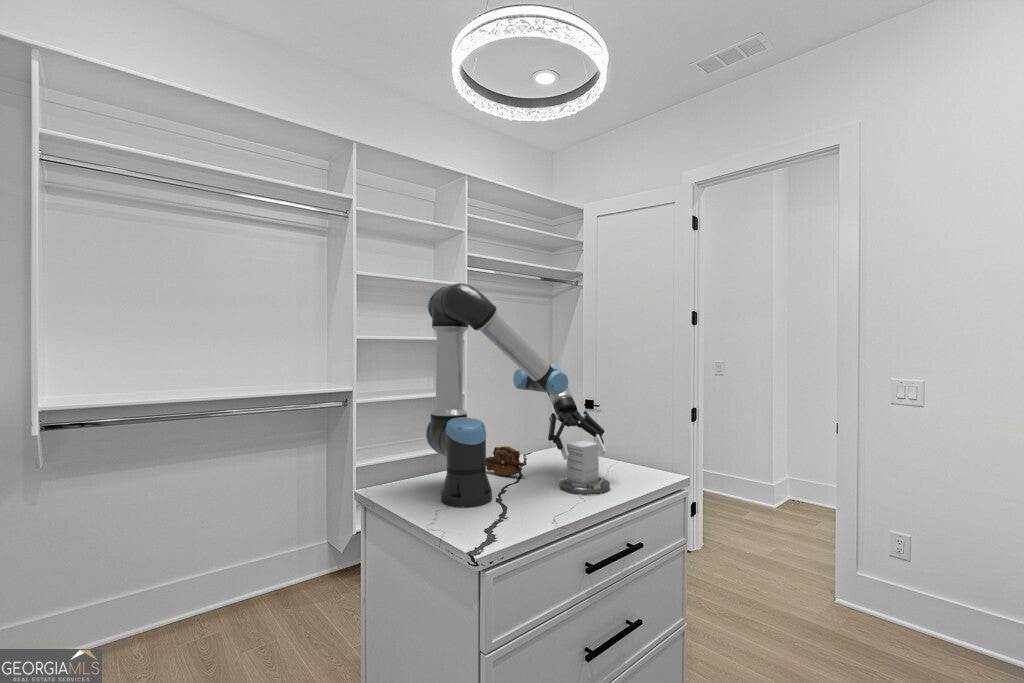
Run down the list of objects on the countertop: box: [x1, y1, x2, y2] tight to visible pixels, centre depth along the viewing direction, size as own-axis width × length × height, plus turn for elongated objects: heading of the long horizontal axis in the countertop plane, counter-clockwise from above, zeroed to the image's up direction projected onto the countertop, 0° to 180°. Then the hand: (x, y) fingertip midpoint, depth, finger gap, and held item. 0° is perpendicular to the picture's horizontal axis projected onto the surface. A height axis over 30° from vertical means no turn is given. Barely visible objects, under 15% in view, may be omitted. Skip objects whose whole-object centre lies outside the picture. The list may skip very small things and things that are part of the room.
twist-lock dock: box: [558, 475, 611, 496], centre depth 159 cm, size 16×16×3 cm
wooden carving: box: [486, 445, 526, 477], centre depth 175 cm, size 16×5×10 cm, turn 60°
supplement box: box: [566, 440, 600, 484], centre depth 159 cm, size 7×7×13 cm
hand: (585, 455), depth 160 cm, fingers open, 13 cm apart
